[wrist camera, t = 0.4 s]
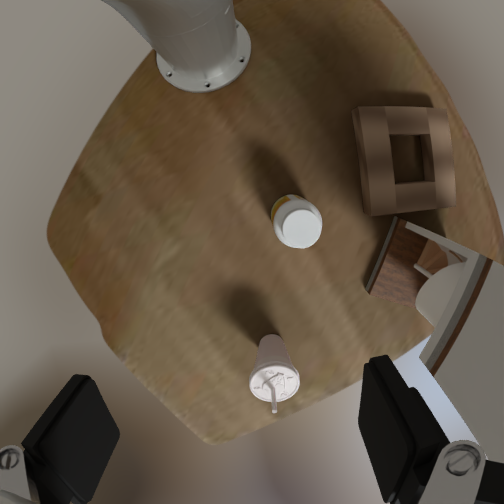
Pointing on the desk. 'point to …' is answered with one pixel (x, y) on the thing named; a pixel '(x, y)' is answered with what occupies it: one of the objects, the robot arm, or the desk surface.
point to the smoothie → (273, 372)
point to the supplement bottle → (296, 221)
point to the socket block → (381, 165)
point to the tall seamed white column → (452, 321)
